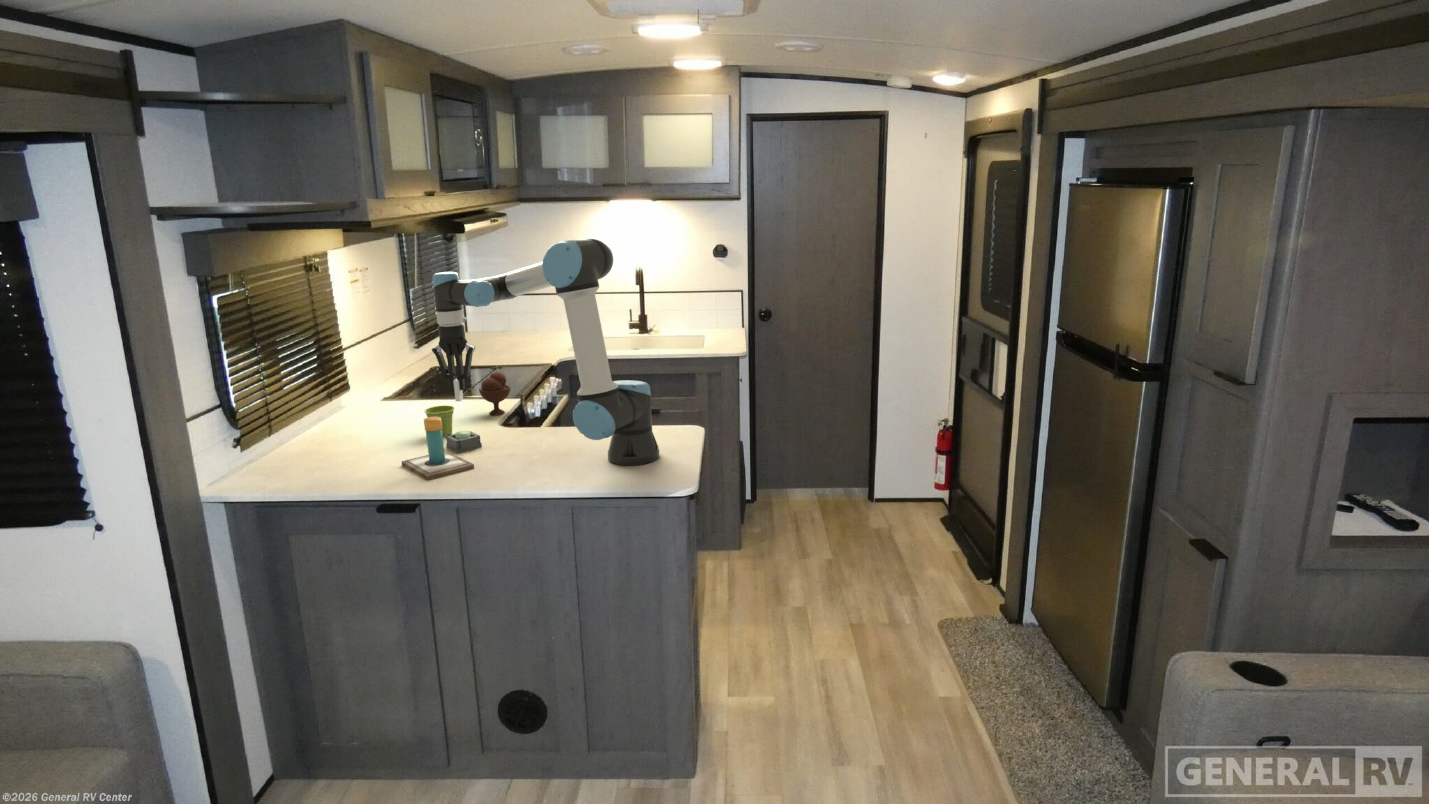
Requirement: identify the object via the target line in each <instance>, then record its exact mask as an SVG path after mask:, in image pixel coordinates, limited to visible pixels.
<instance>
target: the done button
mask: <svg viewBox="0 0 1429 804" xmlns="http://www.w3.org/2000/svg"><path fill="white" fill-rule="evenodd" d="M454 434H455V436H456V439H458V440H460V439H464V438H468V437H470V430H459V431H457V432H455V433H454Z"/></svg>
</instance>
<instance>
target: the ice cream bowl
mask: <svg viewBox="0 0 1429 804" xmlns="http://www.w3.org/2000/svg"><path fill="white" fill-rule="evenodd" d="M506 383H507V377H506V375H505V374H504V373H502V372H499V371H495V372H492V373H491V374H490V375H489V377H486V379H484V380H483V381H482V382H481V387H479V388H478V391H479V393H480V395H481V398H483V399H484V400H485V401H486V402H489V403H492V405H493V409H492V410H491V411H489V413H488V414H489V416H493V417H495V416H502V415H504V414H506V412H505V410H503V409H501V408H500V406H499V404H500V402H503V401H504V400H505V399H507V398H508V396H509V395H510V392H511V386H510V384H506Z"/></svg>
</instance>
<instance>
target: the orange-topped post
mask: <svg viewBox="0 0 1429 804" xmlns="http://www.w3.org/2000/svg"><path fill="white" fill-rule="evenodd" d="M423 425H424V426H423V427H424V431H425V435H426V436H425V437H426V442H427V443H426V444H427V453H428V454H427V455H429V462H430V464H441V463H444V462H445V453H444V451H445V447H444V446H445V445H444V439H443V436H442V420H441V417H426V418H424V419H423Z"/></svg>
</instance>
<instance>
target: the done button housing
mask: <svg viewBox="0 0 1429 804" xmlns="http://www.w3.org/2000/svg"><path fill="white" fill-rule="evenodd" d="M469 431H470V430H469ZM445 439H446V443H445V446H446V448H448V449H449V450H451V451H454V452H456V453H461V452H462V453H463V452H467V451H470V450H474V449H478V448H482V446H483V445H482V442H481V435H480V434H477V433H476V432H473V431H470V437H468V438H464V439H460V440H458V439H456V436H455V433H452V434H451V435H447V436H445Z"/></svg>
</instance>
